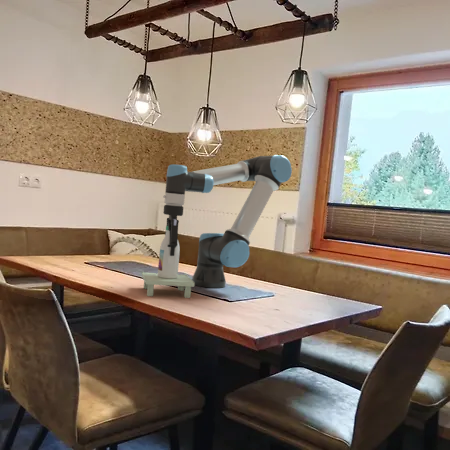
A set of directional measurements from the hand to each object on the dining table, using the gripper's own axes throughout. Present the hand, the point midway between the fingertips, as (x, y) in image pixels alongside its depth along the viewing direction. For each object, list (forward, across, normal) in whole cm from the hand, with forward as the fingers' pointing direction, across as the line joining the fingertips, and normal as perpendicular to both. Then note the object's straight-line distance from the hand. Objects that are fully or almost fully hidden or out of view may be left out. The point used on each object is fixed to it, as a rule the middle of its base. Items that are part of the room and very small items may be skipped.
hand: (168, 262), depth 183 cm
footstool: (+12, 0, 0) cm, 12 cm away
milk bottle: (+6, 0, 0) cm, 6 cm away
